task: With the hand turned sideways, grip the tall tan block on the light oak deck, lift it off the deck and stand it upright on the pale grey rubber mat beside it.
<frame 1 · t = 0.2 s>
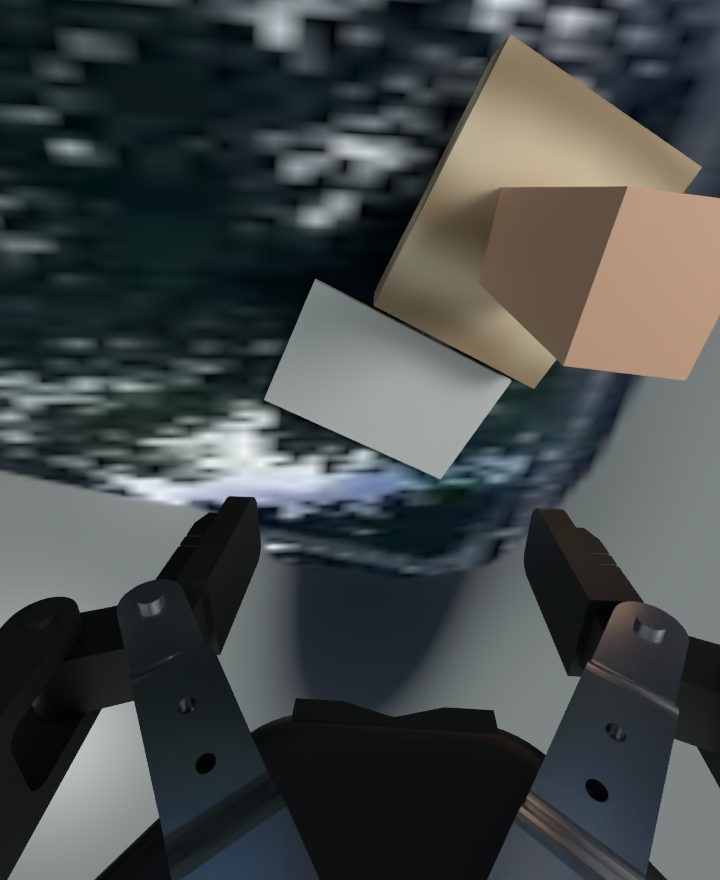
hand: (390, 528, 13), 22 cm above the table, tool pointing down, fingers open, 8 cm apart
deck: (506, 235, 29), on the table
tall tan block: (524, 242, 25), point 4 cm above the table, touching deck
mat: (384, 388, 34), on the table
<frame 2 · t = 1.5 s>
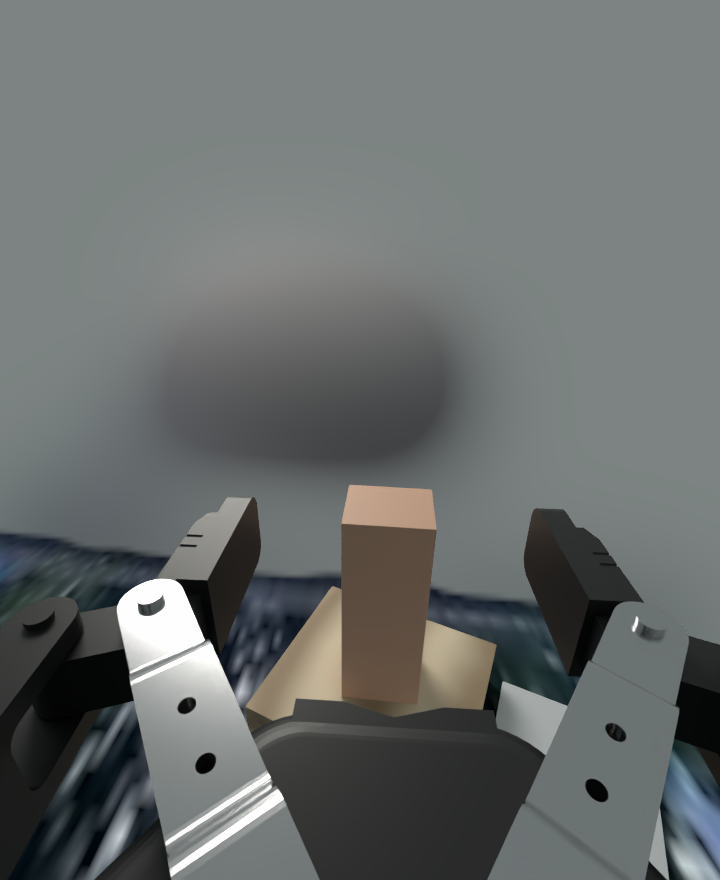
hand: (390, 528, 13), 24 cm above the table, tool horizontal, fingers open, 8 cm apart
deck: (378, 710, 33), on the table
tall tan block: (380, 673, 31), point 4 cm above the table, touching deck
mat: (567, 832, 26), on the table
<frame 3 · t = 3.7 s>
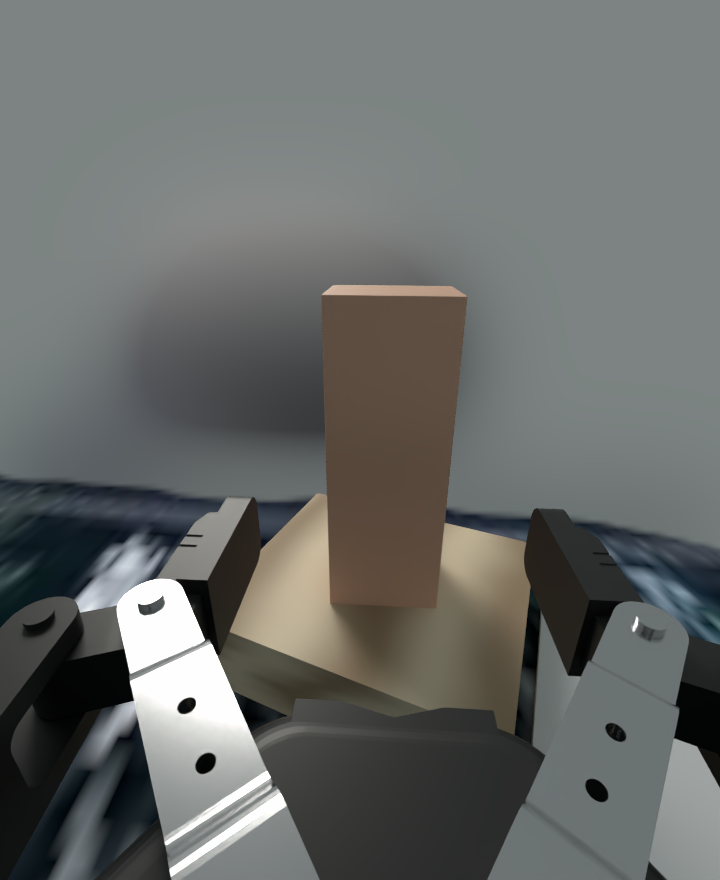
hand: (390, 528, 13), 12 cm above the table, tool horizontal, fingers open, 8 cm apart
deck: (381, 634, 24), on the table
tall tan block: (383, 576, 23), point 4 cm above the table, touching deck
mat: (662, 773, 18), on the table
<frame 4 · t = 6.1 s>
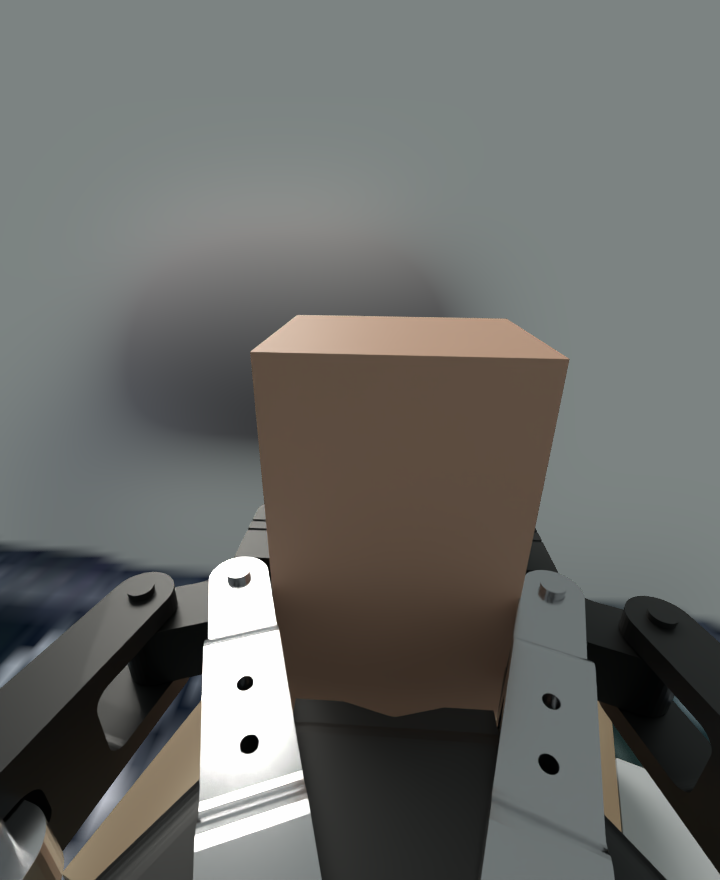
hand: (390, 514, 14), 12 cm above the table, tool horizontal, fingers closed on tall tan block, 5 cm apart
deck: (379, 833, 16), on the table
tall tan block: (382, 765, 14), point 4 cm above the table, touching deck, gripper
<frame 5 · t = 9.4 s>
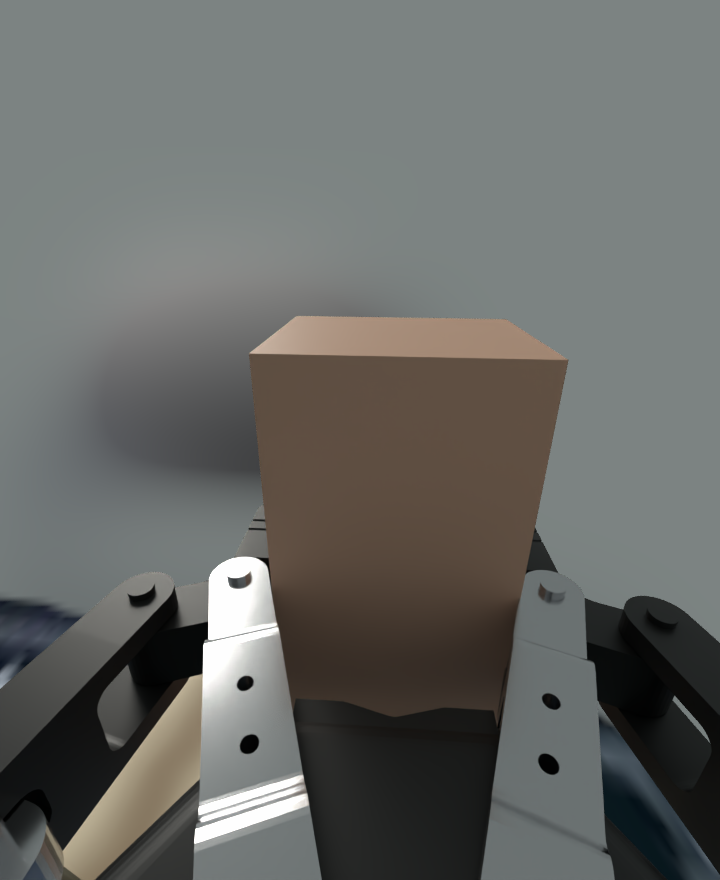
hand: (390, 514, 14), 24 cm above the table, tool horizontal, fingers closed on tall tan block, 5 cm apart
deck: (188, 795, 27), on the table
tall tan block: (382, 766, 14), point 16 cm above the table, touching gripper
when the fingers open (10 cm above the table, at t = 12.7 s): tall tan block drops 1 cm, resting on mat.
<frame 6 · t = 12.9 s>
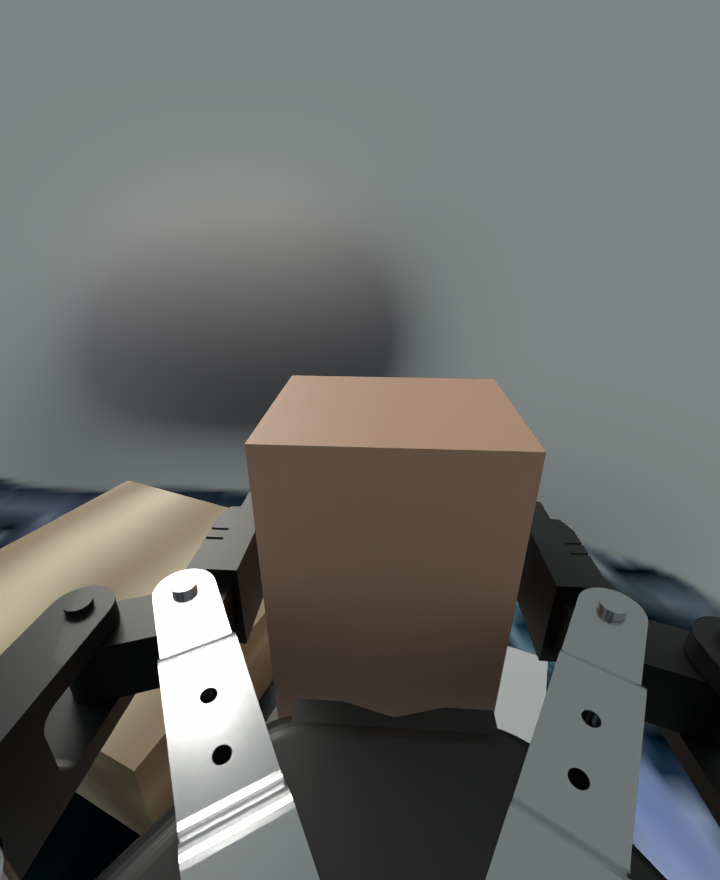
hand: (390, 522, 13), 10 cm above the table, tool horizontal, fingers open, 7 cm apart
deck: (146, 635, 22), on the table
tall tan block: (379, 791, 15), point 1 cm above the table, touching mat
mat: (380, 801, 15), on the table
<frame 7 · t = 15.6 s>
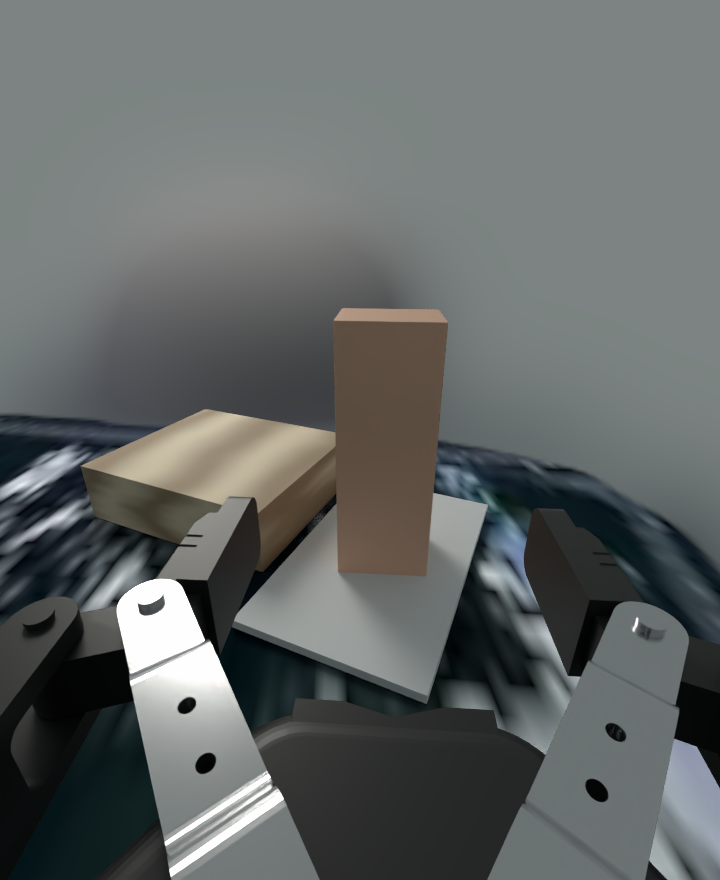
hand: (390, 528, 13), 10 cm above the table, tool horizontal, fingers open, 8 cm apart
deck: (231, 497, 33), on the table
tall tan block: (382, 551, 27), resting on mat
mat: (382, 558, 27), on the table
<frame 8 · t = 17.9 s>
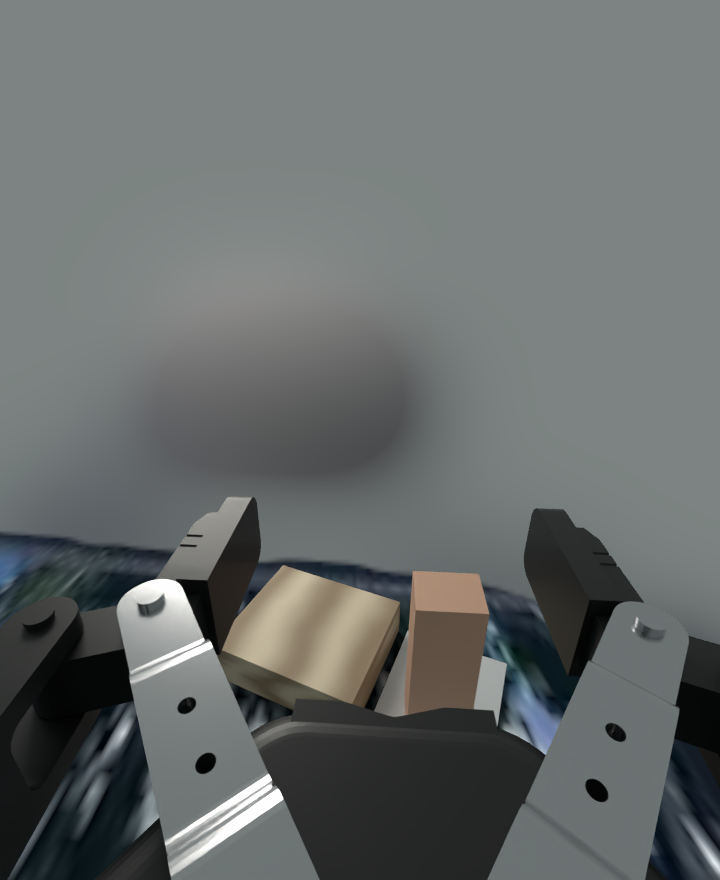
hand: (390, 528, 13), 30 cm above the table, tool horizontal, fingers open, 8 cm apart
deck: (313, 652, 44), on the table
tall tan block: (434, 717, 38), resting on mat
mat: (434, 721, 38), on the table
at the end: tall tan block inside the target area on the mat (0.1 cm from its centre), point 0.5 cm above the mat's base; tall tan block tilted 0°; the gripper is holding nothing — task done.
